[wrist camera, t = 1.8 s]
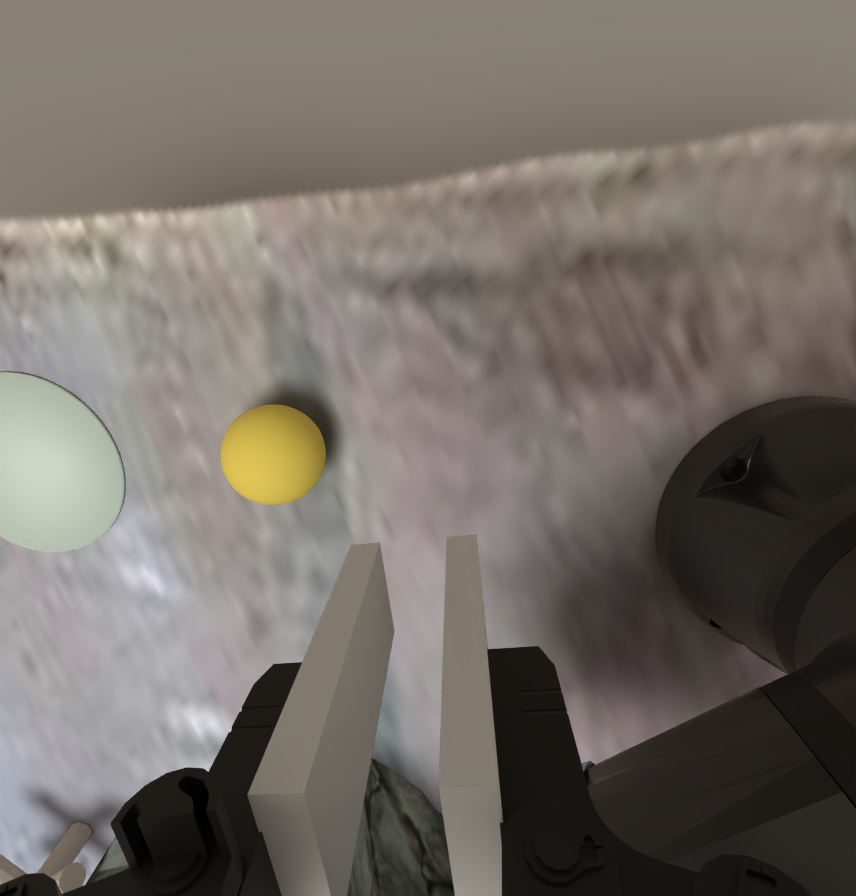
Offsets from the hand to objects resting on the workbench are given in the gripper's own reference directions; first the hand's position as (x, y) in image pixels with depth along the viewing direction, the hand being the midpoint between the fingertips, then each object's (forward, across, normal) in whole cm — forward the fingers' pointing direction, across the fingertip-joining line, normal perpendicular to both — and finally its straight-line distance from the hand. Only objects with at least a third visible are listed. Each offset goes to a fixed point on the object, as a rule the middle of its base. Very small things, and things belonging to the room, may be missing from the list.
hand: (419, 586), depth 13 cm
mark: (+16, +26, 0) cm, 31 cm away
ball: (+14, +9, 0) cm, 16 cm away
